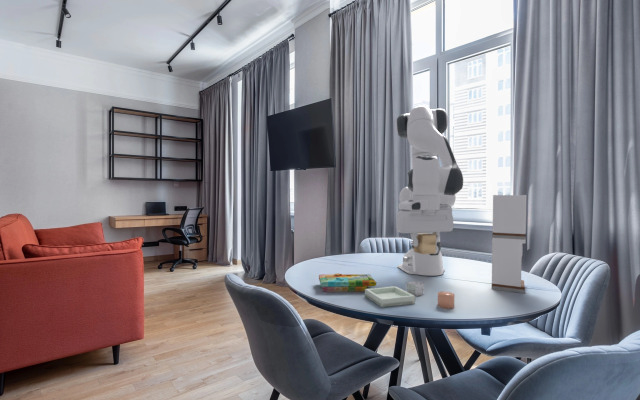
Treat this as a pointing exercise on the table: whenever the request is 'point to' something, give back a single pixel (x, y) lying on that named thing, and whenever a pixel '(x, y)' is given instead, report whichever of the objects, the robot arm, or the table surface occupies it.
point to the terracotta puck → (446, 300)
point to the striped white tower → (508, 242)
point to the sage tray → (389, 296)
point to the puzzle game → (345, 282)
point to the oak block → (426, 244)
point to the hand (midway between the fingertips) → (425, 245)
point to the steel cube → (415, 288)
